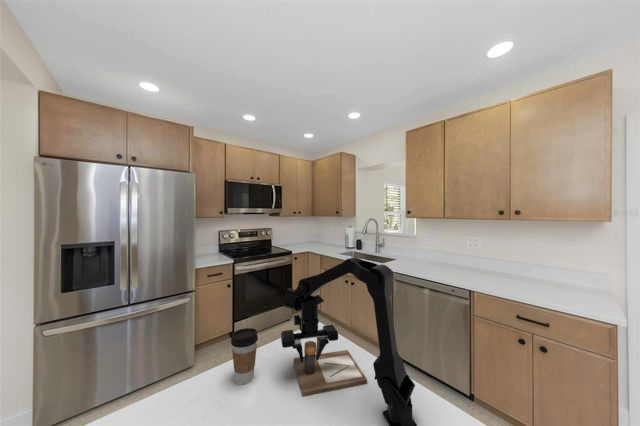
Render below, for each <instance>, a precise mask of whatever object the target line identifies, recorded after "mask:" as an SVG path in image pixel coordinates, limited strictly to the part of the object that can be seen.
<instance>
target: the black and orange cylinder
mask: <svg viewBox="0 0 640 426" xmlns="http://www.w3.org/2000/svg"><path fill="white" fill-rule="evenodd" d="M316 347H317V342H315V341H314V340H308V341H305V342H304V351H303V352H304V356H305V361H304V372H305V374H307V375H312V374H314V373H315V355H316Z"/></svg>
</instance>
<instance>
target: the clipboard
mask: <svg viewBox="0 0 640 426" xmlns="http://www.w3.org/2000/svg"><path fill="white" fill-rule="evenodd" d="M304 361H305V355H304V356H303V363H301V359H300V356H298V357H293V365H294V367H295V373H296V375H297V379H298V380H297V381H298V384H299V389H300V392H301V396H302V397H308V396H311V395H312V396H313V395H318V394H322V393H327V392H332V391H336V390H337V391H338V390H340V389H341V390H342V389H347V388H350V387H351V388H352V387H354V386H356V387H357V386H362V385H365V384H368V379H367V376H365V374H364V372H363V371H362V370H361V368H360V367H359V365H358V363H357V361H355V359H354V357H353V356H352V355H351V353H350V351H349V350H348V349H342V350H337V351H330V352H325V353H321V355H320V357H319V359H318V360H316V354H315V373H314V374H312V375H307V374H305V372H304Z"/></svg>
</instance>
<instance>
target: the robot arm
mask: <svg viewBox="0 0 640 426" xmlns="http://www.w3.org/2000/svg"><path fill="white" fill-rule="evenodd" d="M348 274H351V275H352V276H354V277H355V278H356V279H357V281H360V282H363V283H364V284H365V285H366V288H367V289H366V290H367V292H368V294H369V296H370V298H371V300H372V301H373V308H374V316H375V323H376V333H377V339H378V341H377V342H378V350H379V355H378V356H377V357H376V359H375V360H374V361H373V362H372V363H373V370H374V380H376V383H377V386H378V388H379V389H380V391H381V393H382V397H383V399H384V403H385V404H386V405H387V407H386V408H387V409H386V410H382V416H383V417H384V419H385V420H386V422H387V424H388V425H389V426H418V424H417V423H416V422H415V421H414V419H413V404H412V394H413V392H414V389H415V387H416V384H415V382H414V381H413V380H412V379H411V377H410V376H409V374H407V371H406V367H405V365H404V360H403V359H402V357H401V356H400V353H399V352H398V347H397V340H396V339H397V338H396V332H395V331H396V330H395V324H394V316H393V309H392V301H391V297H392V293H393V292H392V291H393V287H394V286H393V285H394V273H393V270H392V268H390V267H389V266H388V265H386V264H377V263H375V262H372V261H368V260H363V259H361V258H359V257H358V256H357V257H356V256H353V257H350V258H347V259H345V260H344V261H343V262H341V263H339V264H337V265H335V266H332V267H331V268H329V269H326V270H325V271H323V272H321V273H316V274H312V275H310V276H307V277H303V278H301V279H300V280H299V281H298V286H297V287H296V289H294V288H291V287H290V288H287V289H286V290H285V294H284V295H283V297H282V299H281V304H282V307H284V308H286V309H289V310H292V311H296V312H299V311H300V314H296V315H295V314H294V315H293V324H294V326H298V327H299V331H300V332H297V333H294V331H293V329H289V330H282V331H281V333H280V341H281V346H282V347H281V348H284V349H285V348H291V347H292V349H294V350H296V351H297V354H298V355H299V356H298V357H300V359H301V363H303V357H304V356H303V355H304V354H303V352H304V351H303V345H302V341H301V340H308V339H312V338H313V339H315V338H316V353H315V355H316V360H318V359H319V357H320V355H321V354H323V353H322V352H323V351H324V349H325V347H326V346H327V345H328V344H329V343H330V342H335V341H339V331H338V330H337V328H336V327H335V326H334V325H333V324H327V325H323V327H322V328H321V329H319V322H320V321H319V305H320V304H323V303H324V302H325V301H324V299H323V297H321V296H320V294H317V295H315V296H314V294H316V293H318V292H319V291H321V290H323V288H325V287H326V286H327V285H328V284H329V283H331V282H333V281H336V280H338V279H339V278H342V277H344V276H347V275H348Z"/></svg>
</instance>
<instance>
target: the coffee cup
mask: <svg viewBox="0 0 640 426" xmlns="http://www.w3.org/2000/svg"><path fill="white" fill-rule="evenodd" d="M258 336H259V335H258V331H257V329H256V328H251V327H247V328H242V329H241V328H240V329H237V330H235V331H234V332H233V333H232V337H231V339H230V340H231V341H230V343H231V346H232V348H231V351H232V361H233V362H232V363H233V371H234V372H233V373H234V382H235V383H236V384H237V385H246V384H249V383H250V382H252V381H253V379H254V378H255V367H256V357H257V347H258V344H257V341H258V340H259V337H258Z"/></svg>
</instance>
